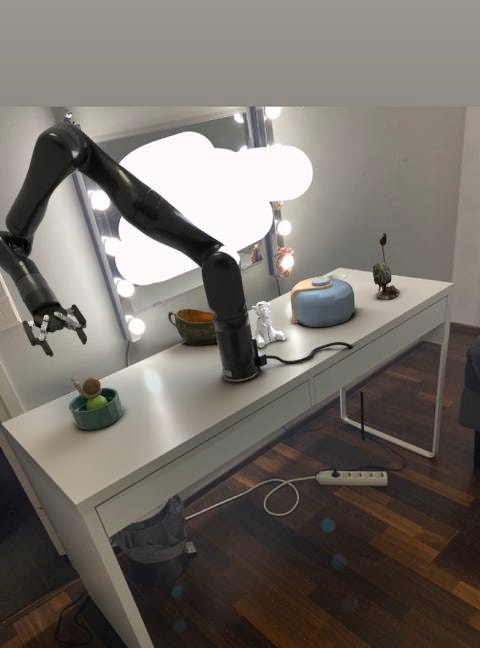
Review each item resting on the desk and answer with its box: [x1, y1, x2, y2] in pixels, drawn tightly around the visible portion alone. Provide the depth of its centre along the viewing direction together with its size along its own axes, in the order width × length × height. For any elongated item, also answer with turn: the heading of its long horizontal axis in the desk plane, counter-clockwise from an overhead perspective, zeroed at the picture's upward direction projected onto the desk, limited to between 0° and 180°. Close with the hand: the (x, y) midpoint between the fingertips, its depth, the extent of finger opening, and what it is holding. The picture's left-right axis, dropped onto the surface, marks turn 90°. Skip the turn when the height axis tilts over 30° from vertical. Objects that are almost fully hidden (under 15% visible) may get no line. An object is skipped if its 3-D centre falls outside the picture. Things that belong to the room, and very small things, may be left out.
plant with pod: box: [371, 232, 400, 300], centre depth 161 cm, size 8×11×20 cm
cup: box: [167, 308, 218, 346], centre depth 158 cm, size 13×20×10 cm, turn 41°
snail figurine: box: [70, 377, 108, 411], centre depth 122 cm, size 5×6×12 cm
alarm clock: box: [289, 275, 356, 328], centre depth 157 cm, size 19×20×12 cm
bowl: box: [68, 387, 124, 431], centre depth 124 cm, size 12×12×6 cm
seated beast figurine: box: [250, 301, 287, 349], centre depth 148 cm, size 10×9×12 cm
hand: (68, 348), depth 121 cm, fingers open, 8 cm apart
